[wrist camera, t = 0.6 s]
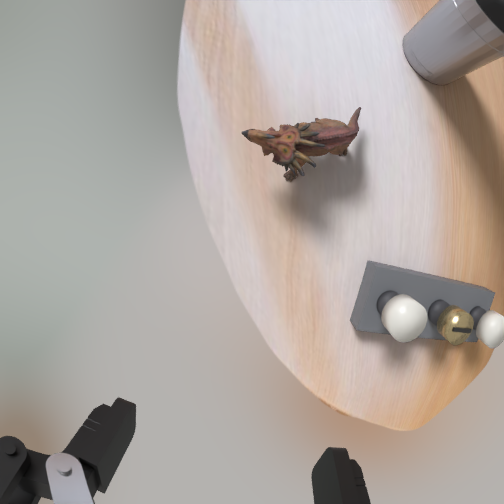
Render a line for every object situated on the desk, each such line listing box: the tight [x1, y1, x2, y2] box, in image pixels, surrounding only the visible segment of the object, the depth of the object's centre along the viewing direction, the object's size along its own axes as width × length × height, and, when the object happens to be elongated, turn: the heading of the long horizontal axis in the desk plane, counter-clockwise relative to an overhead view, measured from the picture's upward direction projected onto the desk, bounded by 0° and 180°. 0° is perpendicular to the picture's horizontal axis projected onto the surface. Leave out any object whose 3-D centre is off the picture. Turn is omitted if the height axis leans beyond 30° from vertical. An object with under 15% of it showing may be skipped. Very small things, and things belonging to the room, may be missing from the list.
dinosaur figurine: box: [242, 107, 361, 182], centre depth 27 cm, size 14×6×9 cm, turn 113°
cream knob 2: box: [476, 310, 504, 348], centre depth 27 cm, size 4×4×3 cm
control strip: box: [350, 261, 495, 342], centre depth 33 cm, size 22×8×4 cm, turn 79°
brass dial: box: [437, 305, 474, 345], centre depth 27 cm, size 4×4×3 cm
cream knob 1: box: [381, 294, 427, 342], centre depth 27 cm, size 4×4×3 cm
